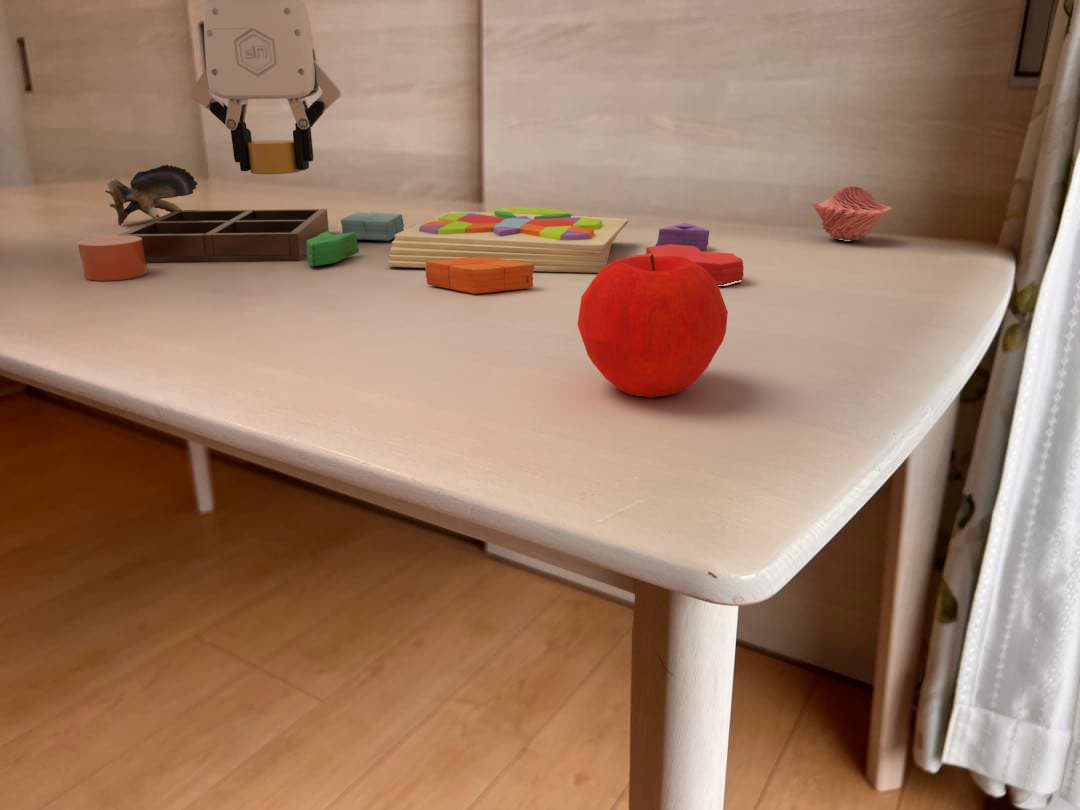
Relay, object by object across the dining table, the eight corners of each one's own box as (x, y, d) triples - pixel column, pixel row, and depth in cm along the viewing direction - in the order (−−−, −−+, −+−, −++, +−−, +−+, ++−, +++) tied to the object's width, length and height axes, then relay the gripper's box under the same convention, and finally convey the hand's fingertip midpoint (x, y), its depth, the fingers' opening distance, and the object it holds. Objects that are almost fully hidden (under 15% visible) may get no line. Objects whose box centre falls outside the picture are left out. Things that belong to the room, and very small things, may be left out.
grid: (120, 262, 79) (115, 235, 79) (178, 233, 95) (175, 210, 94) (299, 260, 80) (297, 233, 80) (328, 231, 96) (327, 208, 95)
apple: (666, 358, 52) (672, 235, 50) (754, 397, 46) (767, 259, 43) (551, 378, 49) (551, 248, 46) (629, 424, 42) (635, 275, 39)
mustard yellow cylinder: (245, 174, 87) (241, 143, 85) (257, 169, 91) (253, 140, 90) (295, 174, 87) (292, 143, 86) (304, 169, 91) (301, 139, 90)
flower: (882, 236, 93) (890, 183, 91) (891, 249, 85) (900, 192, 83) (806, 233, 94) (812, 181, 92) (809, 245, 87) (815, 190, 85)
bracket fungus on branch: (132, 220, 96) (208, 198, 101) (101, 164, 96) (178, 144, 101) (126, 248, 102) (197, 226, 107) (96, 196, 102) (169, 176, 107)
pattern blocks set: (272, 296, 67) (268, 257, 66) (348, 227, 98) (345, 199, 97) (756, 292, 68) (760, 254, 67) (678, 225, 99) (680, 198, 98)
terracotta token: (74, 281, 72) (67, 245, 71) (98, 269, 77) (92, 235, 76) (135, 280, 72) (129, 245, 71) (156, 268, 77) (150, 234, 76)
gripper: (148, -30, 78) (180, 174, 85) (336, -30, 79) (353, 172, 86) (176, -22, 85) (203, 167, 92) (348, -22, 86) (363, 165, 93)
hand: (275, 167), depth 89 cm, fingers closed on mustard yellow cylinder, 5 cm apart
